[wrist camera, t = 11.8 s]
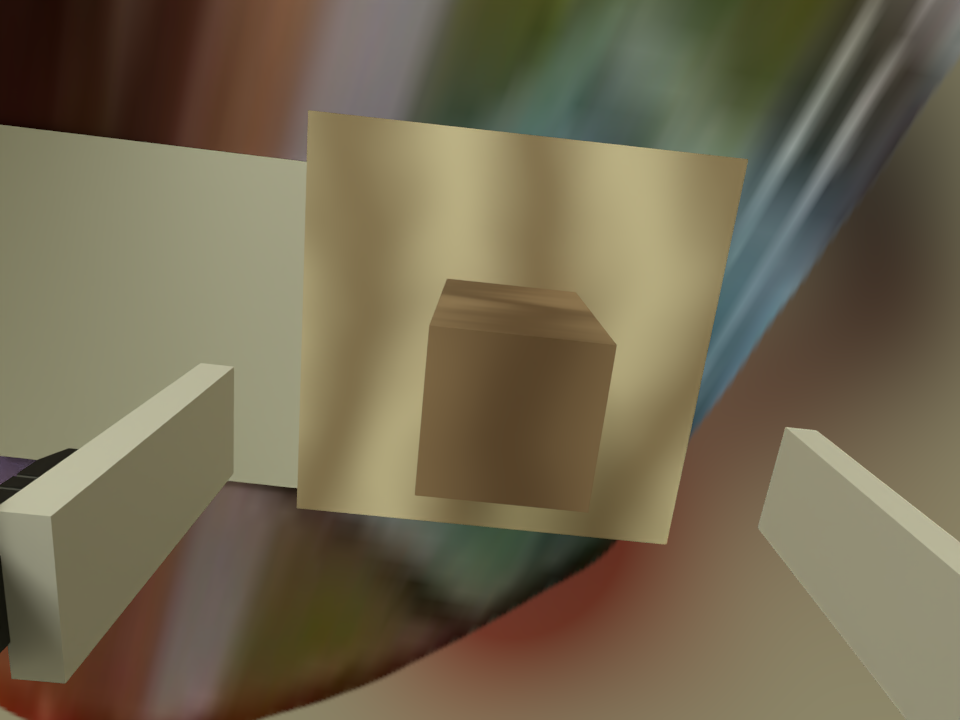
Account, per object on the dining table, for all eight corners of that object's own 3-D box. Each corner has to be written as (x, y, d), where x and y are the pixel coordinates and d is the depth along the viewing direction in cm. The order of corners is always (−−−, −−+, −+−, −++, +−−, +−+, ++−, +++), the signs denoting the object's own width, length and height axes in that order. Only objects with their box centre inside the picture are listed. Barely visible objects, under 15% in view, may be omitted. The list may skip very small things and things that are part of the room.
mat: (4, 452, 41) (-1, 455, 40) (-28, 121, 35) (-35, 120, 35) (317, 486, 41) (315, 490, 41) (334, 165, 36) (332, 165, 35)
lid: (303, 496, 28) (222, 638, 20) (315, 113, 24) (218, 77, 15) (660, 532, 29) (736, 686, 20) (737, 160, 24) (878, 151, 16)
